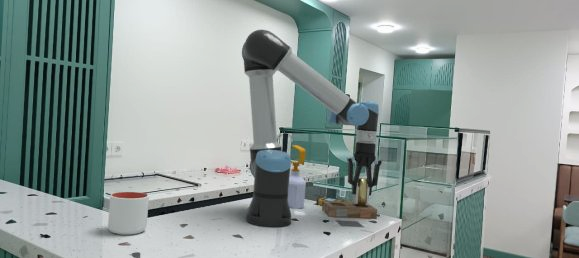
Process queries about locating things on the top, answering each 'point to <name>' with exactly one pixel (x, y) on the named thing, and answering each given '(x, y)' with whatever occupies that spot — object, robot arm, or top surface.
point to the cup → (128, 212)
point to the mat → (349, 223)
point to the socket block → (348, 210)
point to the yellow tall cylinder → (362, 192)
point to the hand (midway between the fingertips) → (360, 203)
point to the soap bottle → (297, 183)
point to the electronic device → (320, 200)
